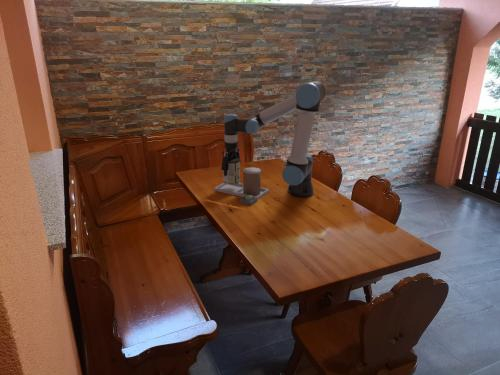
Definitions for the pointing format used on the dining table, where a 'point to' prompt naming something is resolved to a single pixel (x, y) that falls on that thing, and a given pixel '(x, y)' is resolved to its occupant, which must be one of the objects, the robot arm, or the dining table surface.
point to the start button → (248, 197)
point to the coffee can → (233, 171)
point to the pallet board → (237, 190)
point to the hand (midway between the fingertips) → (231, 178)
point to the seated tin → (251, 181)
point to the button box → (248, 201)
